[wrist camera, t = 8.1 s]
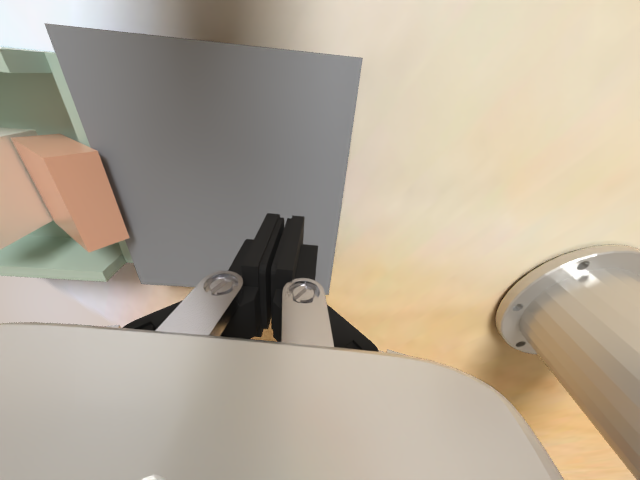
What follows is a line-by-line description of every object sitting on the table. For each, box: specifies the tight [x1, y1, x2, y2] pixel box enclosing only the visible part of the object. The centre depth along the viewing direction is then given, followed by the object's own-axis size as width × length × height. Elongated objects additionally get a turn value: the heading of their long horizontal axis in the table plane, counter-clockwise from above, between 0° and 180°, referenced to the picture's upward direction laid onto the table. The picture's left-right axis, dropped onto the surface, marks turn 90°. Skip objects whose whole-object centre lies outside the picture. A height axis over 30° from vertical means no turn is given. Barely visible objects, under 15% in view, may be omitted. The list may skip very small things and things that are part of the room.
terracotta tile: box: [11, 134, 129, 253], centre depth 14 cm, size 5×5×2 cm
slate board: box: [44, 23, 362, 295], centre depth 16 cm, size 13×14×3 cm
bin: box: [0, 47, 133, 282], centre depth 14 cm, size 9×12×5 cm
